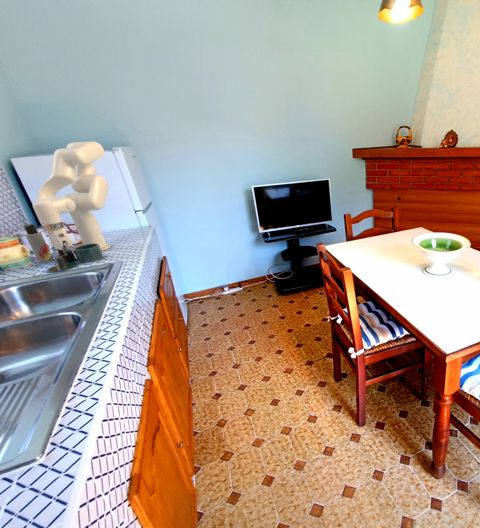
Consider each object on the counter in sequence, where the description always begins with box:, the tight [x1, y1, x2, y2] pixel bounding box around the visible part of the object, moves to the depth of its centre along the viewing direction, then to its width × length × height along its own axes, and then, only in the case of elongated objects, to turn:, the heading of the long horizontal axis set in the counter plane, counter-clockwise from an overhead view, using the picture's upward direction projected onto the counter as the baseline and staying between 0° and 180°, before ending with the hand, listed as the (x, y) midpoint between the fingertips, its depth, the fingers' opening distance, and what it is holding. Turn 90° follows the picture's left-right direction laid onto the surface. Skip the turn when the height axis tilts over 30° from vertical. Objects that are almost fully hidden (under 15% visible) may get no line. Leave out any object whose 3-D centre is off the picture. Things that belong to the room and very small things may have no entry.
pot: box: [72, 244, 105, 264], centre depth 151 cm, size 10×10×7 cm
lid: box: [46, 256, 79, 274], centre depth 142 cm, size 11×11×6 cm
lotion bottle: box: [23, 223, 55, 264], centre depth 149 cm, size 6×6×20 cm
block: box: [58, 253, 77, 263], centre depth 151 cm, size 4×4×4 cm
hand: (68, 260), depth 152 cm, fingers open, 5 cm apart
